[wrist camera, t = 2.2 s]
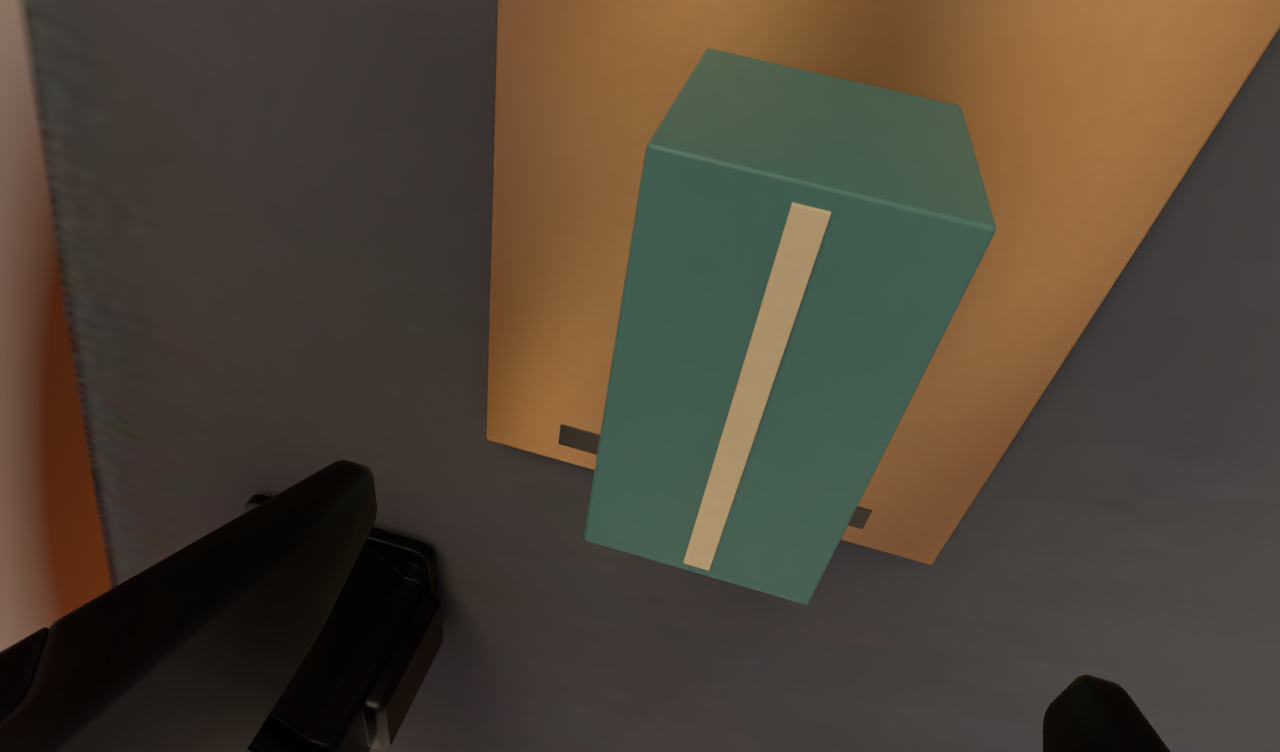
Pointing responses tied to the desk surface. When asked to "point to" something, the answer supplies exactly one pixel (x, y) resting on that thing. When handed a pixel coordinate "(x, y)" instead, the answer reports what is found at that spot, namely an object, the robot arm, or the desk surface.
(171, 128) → the desk surface
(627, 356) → the green parcel
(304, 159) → the desk surface
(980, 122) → the wooden cutting board
